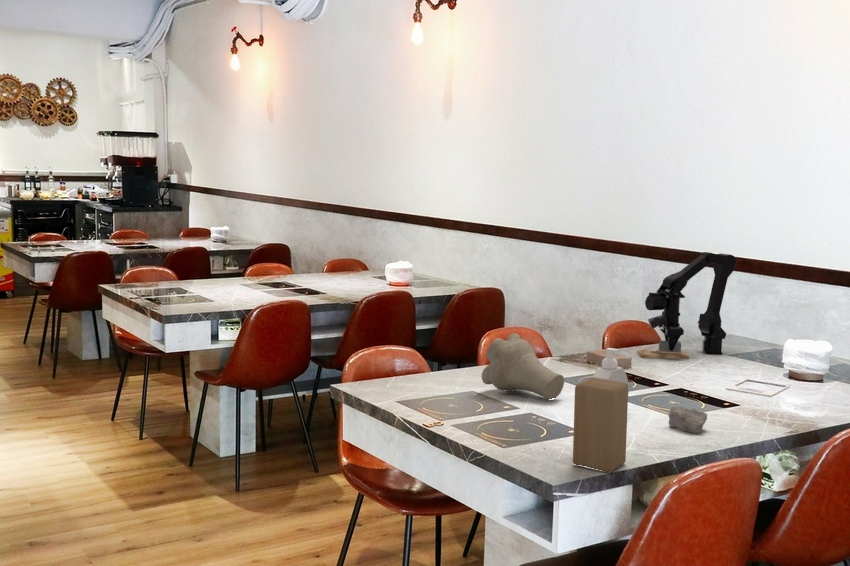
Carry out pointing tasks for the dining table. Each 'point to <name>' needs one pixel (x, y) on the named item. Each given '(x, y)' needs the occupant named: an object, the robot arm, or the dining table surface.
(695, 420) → the stone
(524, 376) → the vase
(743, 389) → the photo frame
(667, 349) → the block
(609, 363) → the soap bottle
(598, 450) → the wooden block
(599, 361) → the brick
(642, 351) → the oak board
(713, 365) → the dining table surface
